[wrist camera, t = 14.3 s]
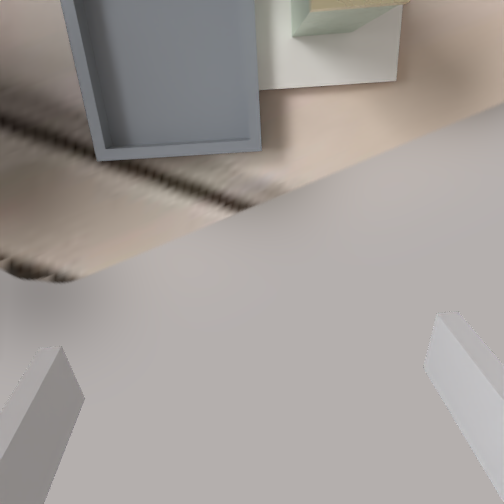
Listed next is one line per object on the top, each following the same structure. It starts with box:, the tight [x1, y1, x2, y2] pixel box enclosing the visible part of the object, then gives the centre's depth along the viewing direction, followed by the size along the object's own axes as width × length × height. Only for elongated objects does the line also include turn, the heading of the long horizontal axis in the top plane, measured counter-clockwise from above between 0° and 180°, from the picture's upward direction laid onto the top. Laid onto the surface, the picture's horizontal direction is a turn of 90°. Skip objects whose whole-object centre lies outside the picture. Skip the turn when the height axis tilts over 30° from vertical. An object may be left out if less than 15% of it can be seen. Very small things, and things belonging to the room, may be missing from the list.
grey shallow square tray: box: [60, 0, 262, 161], centre depth 31 cm, size 15×15×2 cm
